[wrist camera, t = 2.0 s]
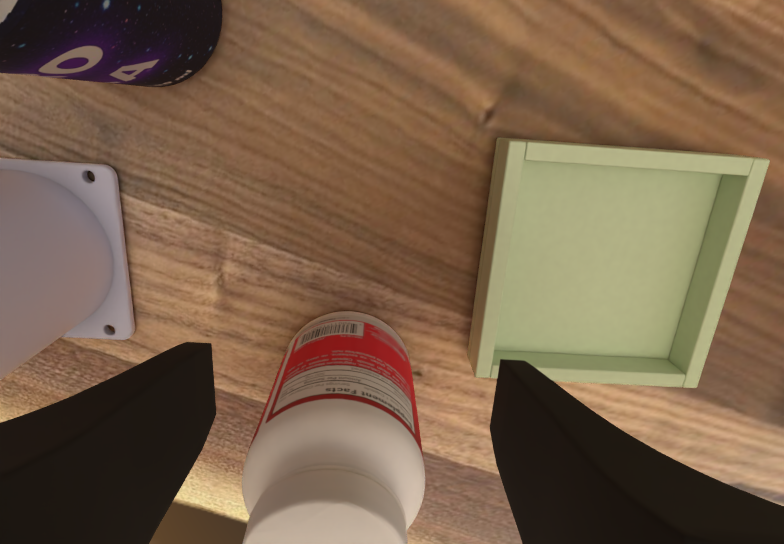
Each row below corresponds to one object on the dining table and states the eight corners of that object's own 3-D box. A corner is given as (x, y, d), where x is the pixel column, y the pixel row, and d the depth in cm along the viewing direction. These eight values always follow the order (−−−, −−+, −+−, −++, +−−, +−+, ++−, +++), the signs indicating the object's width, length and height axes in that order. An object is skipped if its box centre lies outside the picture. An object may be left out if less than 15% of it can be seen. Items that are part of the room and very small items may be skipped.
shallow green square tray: (466, 355, 23) (474, 378, 21) (496, 137, 20) (509, 140, 18) (670, 365, 24) (697, 388, 22) (733, 154, 21) (771, 159, 19)
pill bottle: (356, 437, 25) (340, 676, 14) (260, 371, 23) (164, 584, 13) (436, 356, 23) (482, 557, 13) (339, 281, 22) (302, 438, 12)
